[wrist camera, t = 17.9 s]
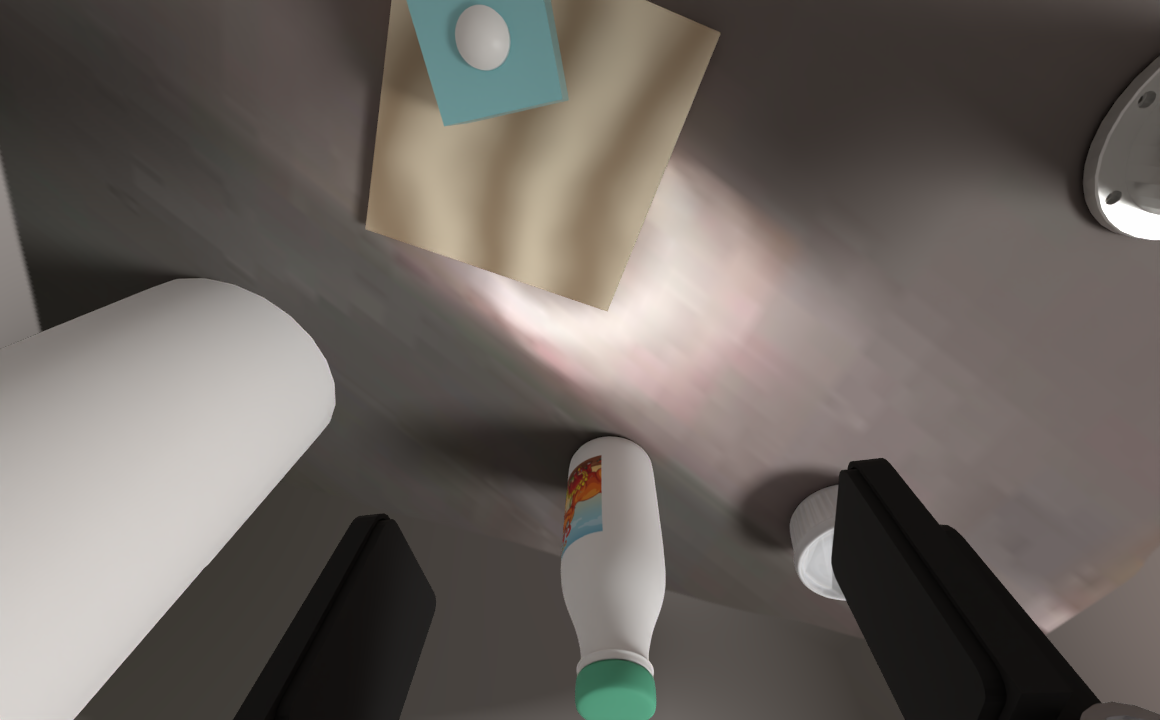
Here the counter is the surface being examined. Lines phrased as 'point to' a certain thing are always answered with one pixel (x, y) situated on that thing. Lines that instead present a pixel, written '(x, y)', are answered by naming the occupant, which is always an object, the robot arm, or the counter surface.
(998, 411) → the counter surface
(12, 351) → the white stepped round block
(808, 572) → the ramekin
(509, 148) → the board
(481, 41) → the teal knob cube
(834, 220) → the counter surface
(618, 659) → the milk bottle
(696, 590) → the counter surface
